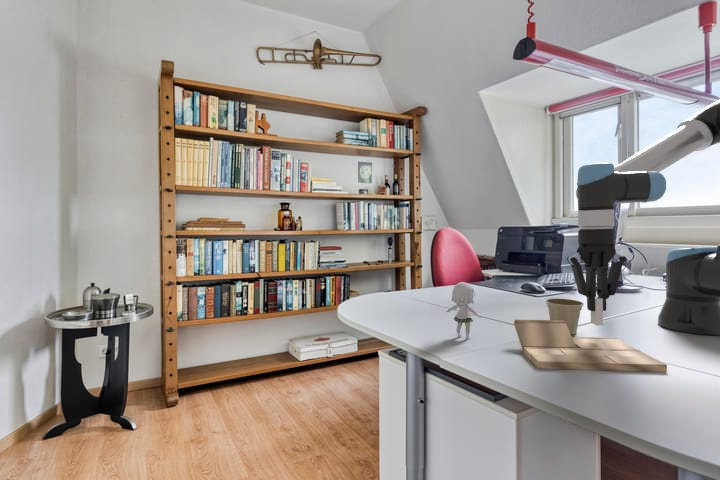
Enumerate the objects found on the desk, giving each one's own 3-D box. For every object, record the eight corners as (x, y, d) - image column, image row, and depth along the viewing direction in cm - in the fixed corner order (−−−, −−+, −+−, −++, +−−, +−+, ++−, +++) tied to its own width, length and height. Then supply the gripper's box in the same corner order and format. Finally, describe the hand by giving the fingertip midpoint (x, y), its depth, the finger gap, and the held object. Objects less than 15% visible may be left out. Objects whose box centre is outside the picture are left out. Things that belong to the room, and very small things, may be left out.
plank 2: (581, 354, 86) (582, 348, 86) (566, 342, 94) (566, 336, 94) (636, 355, 85) (636, 349, 85) (616, 343, 93) (616, 337, 93)
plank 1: (522, 349, 88) (523, 345, 87) (513, 323, 95) (514, 319, 94) (574, 351, 87) (576, 347, 86) (562, 324, 93) (564, 320, 92)
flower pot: (589, 338, 99) (589, 305, 98) (550, 336, 101) (551, 304, 100) (576, 328, 108) (576, 298, 108) (541, 327, 110) (541, 297, 109)
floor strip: (638, 356, 85) (638, 349, 85) (666, 372, 76) (666, 364, 76) (523, 353, 87) (523, 347, 87) (538, 368, 78) (538, 360, 78)
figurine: (486, 339, 98) (486, 282, 97) (475, 345, 93) (476, 285, 93) (450, 332, 105) (450, 279, 104) (439, 337, 100) (439, 281, 100)
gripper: (615, 227, 94) (616, 319, 95) (561, 228, 95) (562, 320, 96) (634, 227, 87) (634, 327, 88) (575, 229, 88) (576, 328, 89)
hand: (596, 323), depth 92 cm, fingers closed
